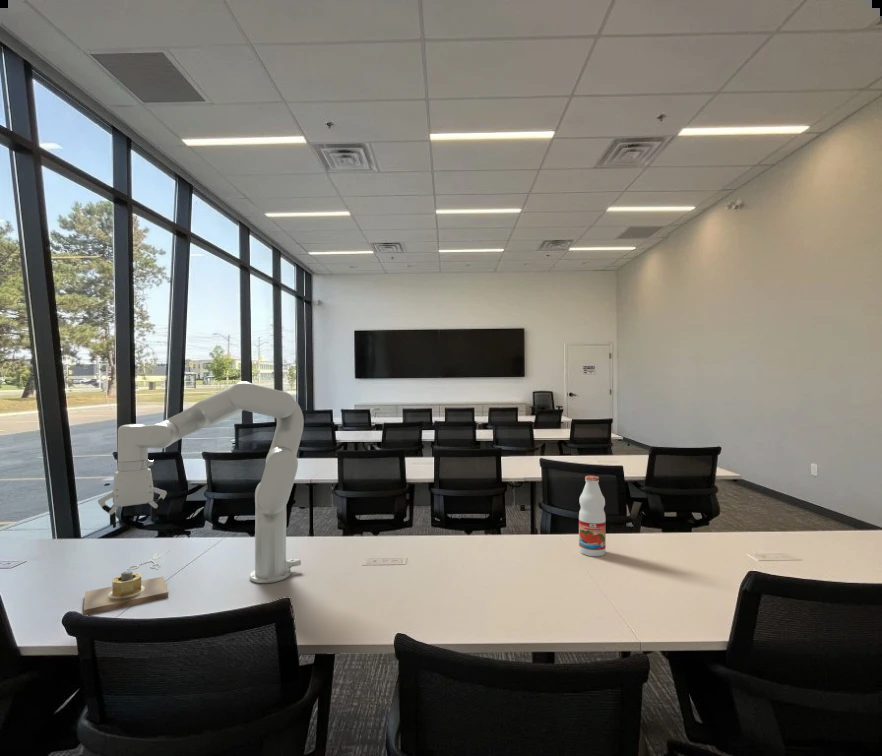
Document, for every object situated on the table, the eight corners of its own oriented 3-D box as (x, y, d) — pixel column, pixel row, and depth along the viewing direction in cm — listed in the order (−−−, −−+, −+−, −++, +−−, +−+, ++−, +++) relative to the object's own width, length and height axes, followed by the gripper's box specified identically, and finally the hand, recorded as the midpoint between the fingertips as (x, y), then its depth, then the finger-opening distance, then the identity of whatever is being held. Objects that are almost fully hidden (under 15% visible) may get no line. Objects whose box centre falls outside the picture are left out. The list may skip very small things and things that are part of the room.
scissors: (123, 571, 162) (148, 550, 182) (123, 573, 162) (148, 552, 182) (158, 569, 164) (179, 548, 184) (158, 571, 164) (179, 550, 184)
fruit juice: (606, 550, 184) (605, 475, 184) (605, 558, 175) (605, 479, 175) (579, 547, 187) (579, 473, 187) (577, 555, 178) (577, 478, 178)
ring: (139, 584, 148) (140, 571, 148) (141, 592, 142) (141, 578, 142) (112, 590, 144) (112, 576, 144) (112, 598, 138) (112, 584, 138)
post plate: (163, 581, 155) (163, 558, 155) (168, 597, 143) (168, 573, 143) (85, 596, 143) (85, 572, 143) (83, 615, 132) (83, 589, 132)
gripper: (164, 461, 153) (165, 516, 153) (97, 467, 143) (98, 526, 143) (167, 464, 147) (168, 521, 147) (97, 471, 137) (98, 532, 137)
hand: (133, 523), depth 145 cm, fingers open, 9 cm apart
